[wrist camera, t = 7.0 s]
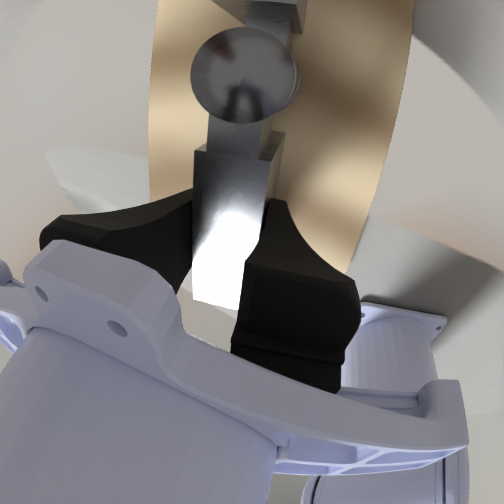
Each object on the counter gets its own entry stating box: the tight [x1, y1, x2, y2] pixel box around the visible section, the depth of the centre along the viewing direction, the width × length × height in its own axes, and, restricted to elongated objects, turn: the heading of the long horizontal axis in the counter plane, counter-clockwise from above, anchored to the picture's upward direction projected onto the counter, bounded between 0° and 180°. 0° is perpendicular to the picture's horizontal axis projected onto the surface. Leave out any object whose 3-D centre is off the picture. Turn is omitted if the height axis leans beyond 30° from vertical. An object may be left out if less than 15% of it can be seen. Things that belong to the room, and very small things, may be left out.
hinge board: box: [149, 0, 415, 274], centre depth 11 cm, size 20×12×1 cm, turn 173°
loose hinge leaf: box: [190, 27, 299, 310], centre depth 11 cm, size 10×3×5 cm, turn 173°
